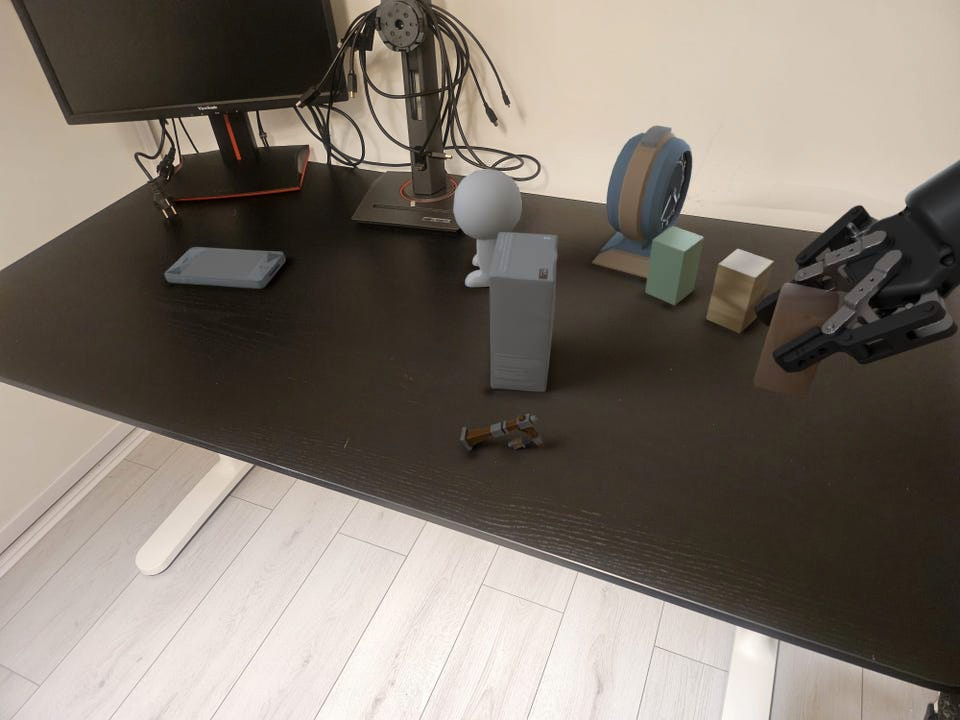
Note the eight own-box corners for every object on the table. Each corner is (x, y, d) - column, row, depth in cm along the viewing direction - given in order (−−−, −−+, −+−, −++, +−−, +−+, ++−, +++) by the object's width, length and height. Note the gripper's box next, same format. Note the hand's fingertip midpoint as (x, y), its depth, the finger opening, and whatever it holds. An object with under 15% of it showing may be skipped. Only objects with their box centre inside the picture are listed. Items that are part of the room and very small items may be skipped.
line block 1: (693, 290, 81) (704, 236, 75) (674, 305, 78) (684, 251, 73) (664, 278, 83) (672, 225, 78) (644, 292, 81) (652, 239, 76)
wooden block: (804, 401, 48) (836, 321, 43) (751, 387, 50) (775, 308, 44) (810, 370, 51) (841, 290, 46) (759, 357, 52) (783, 279, 47)
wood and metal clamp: (551, 448, 61) (532, 419, 58) (480, 466, 64) (459, 438, 61) (551, 434, 62) (533, 405, 59) (482, 452, 65) (461, 425, 62)
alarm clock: (655, 285, 82) (674, 157, 70) (588, 266, 86) (596, 143, 75) (691, 236, 91) (713, 115, 79) (628, 222, 95) (641, 105, 83)
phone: (263, 289, 87) (260, 282, 86) (164, 282, 90) (160, 275, 89) (287, 259, 93) (285, 251, 92) (194, 253, 96) (191, 246, 95)
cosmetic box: (497, 344, 75) (491, 228, 64) (556, 346, 74) (559, 229, 63) (488, 392, 68) (480, 273, 58) (552, 396, 67) (555, 275, 57)
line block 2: (757, 316, 76) (774, 261, 70) (739, 334, 73) (755, 278, 68) (724, 302, 78) (737, 248, 73) (705, 319, 76) (718, 264, 71)
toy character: (466, 254, 91) (458, 156, 81) (527, 257, 89) (526, 158, 79) (453, 289, 84) (442, 187, 74) (518, 293, 82) (516, 189, 73)
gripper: (935, 111, 42) (721, 262, 52) (1064, 211, 32) (766, 378, 41) (981, 181, 45) (771, 312, 55) (1114, 294, 35) (825, 432, 44)
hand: (770, 339), depth 48 cm, fingers closed on wooden block, 5 cm apart
